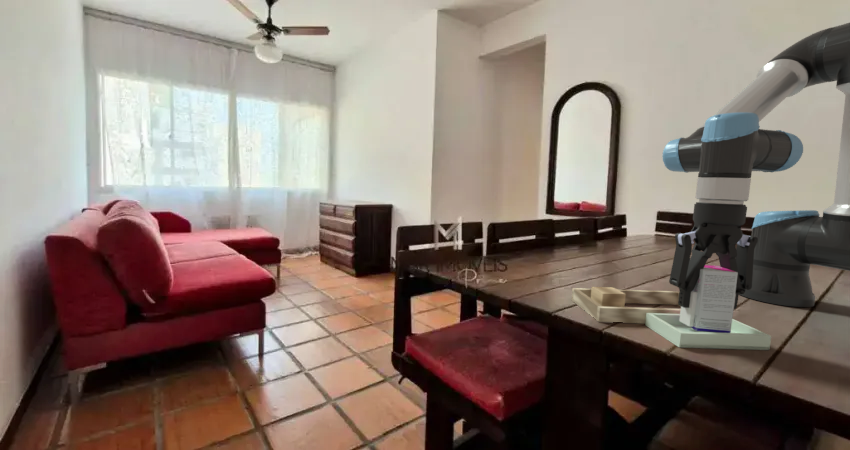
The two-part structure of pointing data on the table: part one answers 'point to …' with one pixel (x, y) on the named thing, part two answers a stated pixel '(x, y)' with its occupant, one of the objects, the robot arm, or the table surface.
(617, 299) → the oak block
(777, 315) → the table surface
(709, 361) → the table surface
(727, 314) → the supplement box
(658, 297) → the frame
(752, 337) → the tray
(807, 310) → the table surface
